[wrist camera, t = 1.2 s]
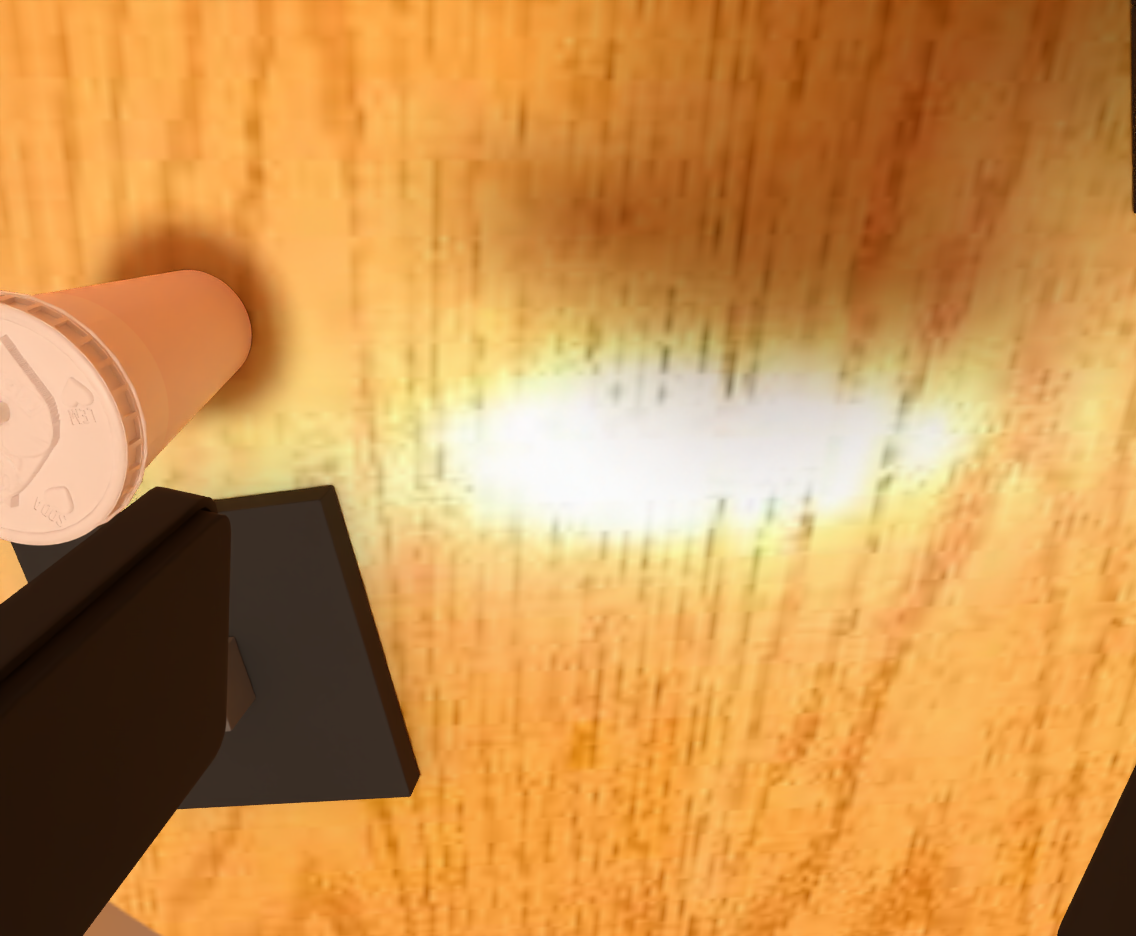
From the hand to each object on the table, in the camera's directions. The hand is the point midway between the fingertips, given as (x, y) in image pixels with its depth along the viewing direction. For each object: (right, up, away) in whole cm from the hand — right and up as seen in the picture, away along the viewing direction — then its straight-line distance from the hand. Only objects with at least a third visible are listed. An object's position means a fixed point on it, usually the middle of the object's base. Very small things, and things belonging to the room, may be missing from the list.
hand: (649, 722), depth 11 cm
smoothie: (-13, +7, +24) cm, 28 cm away
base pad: (-13, -4, +28) cm, 32 cm away
